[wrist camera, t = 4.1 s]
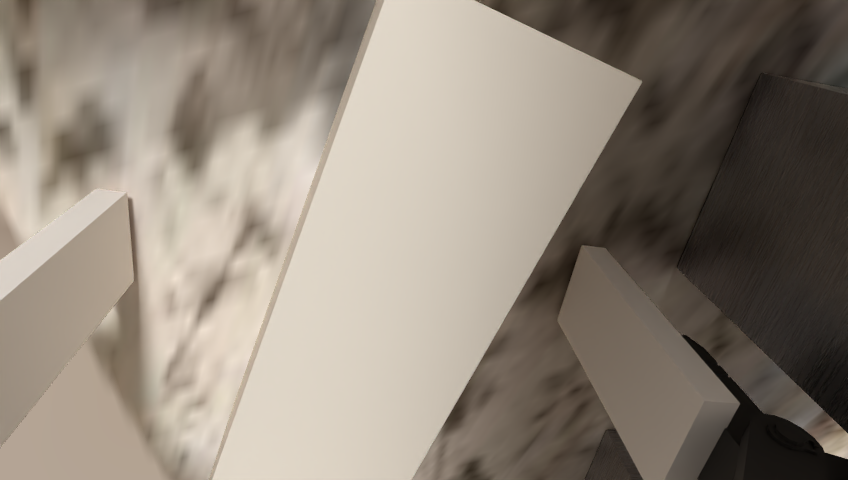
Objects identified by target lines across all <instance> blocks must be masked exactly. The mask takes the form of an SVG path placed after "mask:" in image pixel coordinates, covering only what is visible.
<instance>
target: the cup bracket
mask: <svg viewBox="0 0 848 480" xmlns="http://www.w3.org/2000/svg"><path fill="white" fill-rule="evenodd" d="M585 480H643V478H642V476H641V475H640V473H639V471H638V469H637V467H636V465H635V463H634V462H633V460H632V458H631V456H630V454H629V452H628V450H627V449H626V447H625V445H624V443H623V441H622V439H621V438H620V436H619V434H618V432H617V431H612V430H606V432H605V435H604V437H603V439H602V442H601V444H600V446H599V448H598V451H597V453H596V455H595V458H594V460H593V462H592V465H591V467H590V469H589V471H588V474H587V476H586V478H585Z"/></svg>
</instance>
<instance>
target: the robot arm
mask: <svg viewBox="0 0 848 480" xmlns="http://www.w3.org/2000/svg"><path fill="white" fill-rule="evenodd" d="M133 282H134V273H133V260H132V247H131V235H130V222H129V209H128V197H127V192H122V191H114V190H105V189H95V190H94V191H92V192H91V193H90V194H88V195H87V196H86V197H84V198H83V199H82V200H80V201H79V202H78V203H76V204H75V205H74V206H72V207H71V208H70V209H68V210H67V211H65V212H64V213H63V214H61V215H60V216H59V217H57V218H56V219H55V220H53V221H52V222H51V223H49V224H48V225H47V226H45V227H44V228H43V229H41V230H40V231H39V232H37V233H36V234H35V235H33V236H32V237H31V238H29V239H28V240H27V241H25V242H24V243H23V244H21V245H20V246H19V247H17V248H16V249H15V250H13V251H12V252H11V253H9V254H8V255H7V256H5V257H4V258H3V259H1V260H0V448H1V447H2V445H3V444H4V443H5V442H6V440H7V439H8V438H9V437H10V435H11V434H12V433H13V432H14V430H15V429H16V428H17V427H18V425H19V424H20V423H21V422H22V420H23V419H24V418H25V417H26V415H27V414H28V413H29V412H30V410H31V409H32V408H33V407H34V405H35V404H36V403H37V402H38V400H39V399H40V398H41V397H42V395H43V394H44V393H45V392H46V390H47V389H48V388H49V387H50V385H51V384H52V383H53V381H54V380H55V379H56V378H57V376H58V375H59V374H60V373H61V372H62V370H63V369H64V368H65V367H66V365H67V364H68V363H69V362H70V360H71V359H72V358H73V357H74V355H75V354H76V353H77V352H78V350H79V349H80V348H81V346H82V345H83V344H84V343H85V342H86V340H87V339H88V338H89V337H90V335H91V334H92V333H93V332H94V330H95V329H96V328H97V327H98V325H99V324H100V323H101V322H102V320H103V319H104V318H105V317H106V315H107V314H108V313H109V312H110V310H111V309H112V308H113V307H114V305H115V304H116V303H117V302H118V300H119V299H120V298H121V297H122V295H123V294H124V293H125V292H126V290H127V289H128V288H129V287H130V285H131V284H132V283H133ZM557 321H558V323H559V325H560V327H561V328H562V330H563V332H564V334H565V336H566V338H567V339H568V341H569V343H570V345H571V347H572V349H573V351H574V352H575V354H576V356H577V358H578V360H579V362H580V364H581V365H582V367H583V369H584V371H585V373H586V375H587V376H588V378H589V380H590V382H591V384H592V386H593V388H594V389H595V391H596V393H597V395H598V397H599V399H600V401H601V402H602V404H603V406H604V408H605V410H606V412H607V413H608V415H609V417H610V419H611V421H612V423H613V425H614V426H615V428H616V430H617V432H618V434H619V436H620V438H621V439H622V441H623V443H624V445H625V447H626V449H627V450H628V452H629V454H630V456H631V458H632V460H633V462H634V463H635V465H636V467H637V469H638V471H639V473H640V475H641V476H642V478H643V480H848V459H845V458H841V457H838V456H835V455H831V454H828V453H825V452H824V450H823V448H822V447H821V445H820V444H819V443H818V442H817V441H816V440H815V438H814V437H812V436H811V435H810V434H809V433H807V432H806V431H805V430H804V429H802V428H801V427H799V426H797V425H795V424H793V423H792V422H790V421H788V420H785V419H783V418H780V417H777V416H775V415H768V414H763V413H762V412H761V411H760V410H759V408H758V407H757V406H756V405H755V404H754V403H753V402H752V401H751V400H750V398H749V397H748V396H747V395H746V394H745V393H744V392H743V391H742V390H741V388H740V387H739V386H738V385H737V384H736V383H735V382H734V381H733V380H732V378H731V377H728V374H727V373H726V372H725V371H724V370H723V368H722V367H721V366H718V365H717V362H716V361H715V360H714V358H713V357H712V356H711V355H710V354H709V353H708V352H707V351H706V350H705V349H704V348H703V347H702V346H700V345H699V344H697V343H696V342H695V341H693V340H692V339H690V338H689V337H688V336H686V335H680V333H679V332H678V331H677V330H676V329H675V328H674V327H673V325H672V324H671V323H670V322H669V321H668V320H667V318H666V317H665V316H664V315H663V314H662V313H661V312H660V310H659V309H658V308H657V307H656V306H655V305H654V303H653V302H652V301H651V300H650V299H649V298H648V297H647V295H646V294H645V293H644V292H643V291H642V290H641V288H640V287H639V286H638V285H637V284H636V283H635V282H634V280H633V279H632V278H631V277H630V276H629V275H628V274H627V272H626V271H625V270H624V269H623V268H622V267H621V265H620V264H619V263H618V262H617V261H616V260H615V259H614V257H613V256H612V255H611V254H610V253H609V252H608V250H607V249H606V248H602V247H594V246H585V245H582V246H581V249H580V252H579V255H578V258H577V261H576V264H575V267H574V270H573V273H572V276H571V279H570V282H569V285H568V289H567V292H566V295H565V298H564V301H563V304H562V307H561V310H560V313H559V316H558V319H557Z"/></svg>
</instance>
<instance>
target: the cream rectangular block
mask: <svg viewBox="0 0 848 480" xmlns="http://www.w3.org/2000/svg"><path fill="white" fill-rule="evenodd" d="M641 83H642V81H641V80H639V79H637V78H635V77H633V76H631V75H629V74H627V73H625V72H623V71H621V70H618V69H616V68H614V67H612V66H610V65H608V64H606V63H604V62H602V61H600V60H598V59H596V58H593V57H591V56H589V55H587V54H585V53H583V52H581V51H579V50H577V49H575V48H573V47H571V46H568V45H566V44H564V43H562V42H560V41H558V40H556V39H554V38H552V37H550V36H548V35H546V34H544V33H541V32H539V31H537V30H535V29H533V28H531V27H529V26H527V25H525V24H523V23H521V22H519V21H516V20H514V19H512V18H510V17H508V16H506V15H504V14H502V13H500V12H498V11H496V10H494V9H491V8H489V7H487V6H485V5H483V4H481V3H479V2H477V1H475V0H376V3H375V6H374V9H373V11H372V14H371V17H370V20H369V23H368V26H367V28H366V31H365V34H364V37H363V40H362V43H361V45H360V48H359V51H358V54H357V57H356V59H355V62H354V65H353V68H352V71H351V74H350V76H349V79H348V82H347V85H346V88H345V91H344V93H343V96H342V99H341V102H340V105H339V108H338V110H337V113H336V116H335V119H334V122H333V125H332V127H331V130H330V133H329V136H328V139H327V141H326V144H325V147H324V150H323V153H322V156H321V158H320V161H319V164H318V167H317V170H316V173H315V175H314V178H313V181H312V184H311V187H310V190H309V192H308V195H307V198H306V201H305V204H304V207H303V209H302V212H301V215H300V218H299V221H298V224H297V226H296V229H295V232H294V235H293V238H292V240H291V243H290V246H289V249H288V252H287V255H286V257H285V260H284V263H283V266H282V269H281V272H280V274H279V277H278V280H277V283H276V286H275V289H274V291H273V294H272V297H271V300H270V303H269V306H268V308H267V311H266V314H265V317H264V320H263V323H262V325H261V328H260V331H259V334H258V337H257V339H256V342H255V345H254V348H253V351H252V354H251V356H250V359H249V362H248V365H247V368H246V371H245V373H244V376H243V379H242V382H241V385H240V388H239V390H238V393H237V396H236V399H235V402H234V405H233V408H232V411H231V414H230V417H229V420H228V423H227V426H226V429H225V432H224V435H223V438H222V441H221V444H220V447H219V451H218V454H217V457H216V460H215V463H214V466H213V469H212V472H211V475H210V478H209V480H412V478H413V476H414V475H415V473H416V471H417V469H418V468H419V466H420V464H421V462H422V461H423V459H424V457H425V456H426V454H427V452H428V450H429V449H430V447H431V445H432V444H433V442H434V440H435V438H436V437H437V435H438V433H439V431H440V430H441V428H442V426H443V425H444V423H445V421H446V419H447V418H448V416H449V414H450V412H451V411H452V409H453V407H454V406H455V404H456V402H457V400H458V399H459V397H460V395H461V394H462V392H463V390H464V388H465V387H466V385H467V383H468V381H469V380H470V378H471V376H472V375H473V373H474V371H475V369H476V368H477V366H478V364H479V362H480V361H481V359H482V357H483V356H484V354H485V352H486V350H487V349H488V347H489V345H490V344H491V342H492V340H493V338H494V337H495V335H496V333H497V331H498V330H499V328H500V326H501V325H502V323H503V321H504V319H505V318H506V316H507V314H508V312H509V311H510V309H511V307H512V306H513V304H514V302H515V300H516V299H517V297H518V295H519V294H520V292H521V290H522V288H523V287H524V285H525V283H526V281H527V280H528V278H529V276H530V275H531V273H532V271H533V269H534V268H535V266H536V264H537V262H538V261H539V259H540V257H541V256H542V254H543V252H544V250H545V249H546V247H547V245H548V243H549V242H550V240H551V238H552V237H553V235H554V233H555V231H556V230H557V228H558V226H559V225H560V223H561V221H562V219H563V218H564V216H565V214H566V212H567V211H568V209H569V207H570V206H571V204H572V202H573V200H574V199H575V197H576V195H577V193H578V192H579V190H580V188H581V187H582V185H583V183H584V181H585V180H586V178H587V176H588V175H589V173H590V171H591V169H592V168H593V166H594V164H595V162H596V161H597V159H598V157H599V156H600V154H601V152H602V150H603V149H604V147H605V145H606V143H607V142H608V140H609V138H610V137H611V135H612V133H613V131H614V130H615V128H616V126H617V125H618V123H619V121H620V119H621V118H622V116H623V114H624V112H625V111H626V109H627V107H628V106H629V104H630V102H631V100H632V99H633V97H634V95H635V93H636V92H637V90H638V88H639V87H640V85H641Z"/></svg>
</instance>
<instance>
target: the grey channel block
mask: <svg viewBox="0 0 848 480" xmlns="http://www.w3.org/2000/svg"><path fill="white" fill-rule="evenodd" d="M677 268H678V269H679V270H680V271H681V272H682V273H683V274H684V275H685V276H686V277H687V278H688V279H689V280H690V281H691V282H692V283H693V284H694V285H695V286H696V287H697V288H698V289H699V290H700V291H701V292H702V293H704V294H705V295H706V296H707V297H708V298H709V299H710V300H711V301H712V302H713V303H714V304H715V305H716V306H717V307H718V308H719V309H720V310H721V311H722V312H723V313H724V314H725V315H726V316H727V317H728V318H729V319H730V320H731V321H732V322H733V323H734V324H736V325H737V326H738V327H739V328H740V329H741V330H742V331H743V332H744V333H745V334H746V335H747V336H748V337H749V338H750V339H751V340H752V341H753V342H754V343H755V344H756V345H757V346H758V347H759V348H760V349H761V350H762V351H763V352H764V353H765V354H767V355H768V356H769V357H770V358H771V359H772V360H773V361H774V362H775V363H776V364H777V365H778V366H779V367H780V368H781V369H782V370H783V371H784V372H785V373H786V374H787V375H788V376H789V377H790V378H791V379H792V380H793V381H794V382H795V383H796V384H797V385H799V386H800V387H801V388H802V389H803V390H804V391H805V392H806V393H807V394H808V395H809V396H810V397H811V398H812V399H813V400H814V401H815V402H816V403H817V404H818V405H819V406H820V407H821V408H822V409H823V410H824V411H825V412H826V413H827V414H828V415H830V416H831V417H832V418H833V419H834V420H835V421H836V422H837V423H838V424H839V425H840V426H841V427H842V428H843V429H844V430H845V431H846V432H847V433H848V88H843V87H837V86H832V85H826V84H821V83H815V82H810V81H804V80H799V79H793V78H788V77H782V76H777V75H771V74H766V73H761V75H760V77H759V80H758V82H757V84H756V87H755V89H754V91H753V94H752V96H751V98H750V100H749V103H748V105H747V107H746V110H745V112H744V114H743V117H742V119H741V121H740V123H739V126H738V128H737V130H736V133H735V135H734V137H733V140H732V142H731V144H730V147H729V149H728V151H727V153H726V156H725V158H724V160H723V163H722V165H721V167H720V170H719V172H718V174H717V176H716V179H715V181H714V183H713V186H712V188H711V190H710V193H709V195H708V197H707V200H706V202H705V204H704V206H703V209H702V211H701V213H700V216H699V218H698V220H697V223H696V225H695V227H694V229H693V232H692V234H691V236H690V239H689V241H688V243H687V246H686V248H685V250H684V253H683V255H682V257H681V259H680V262H679V264H678V266H677Z"/></svg>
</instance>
